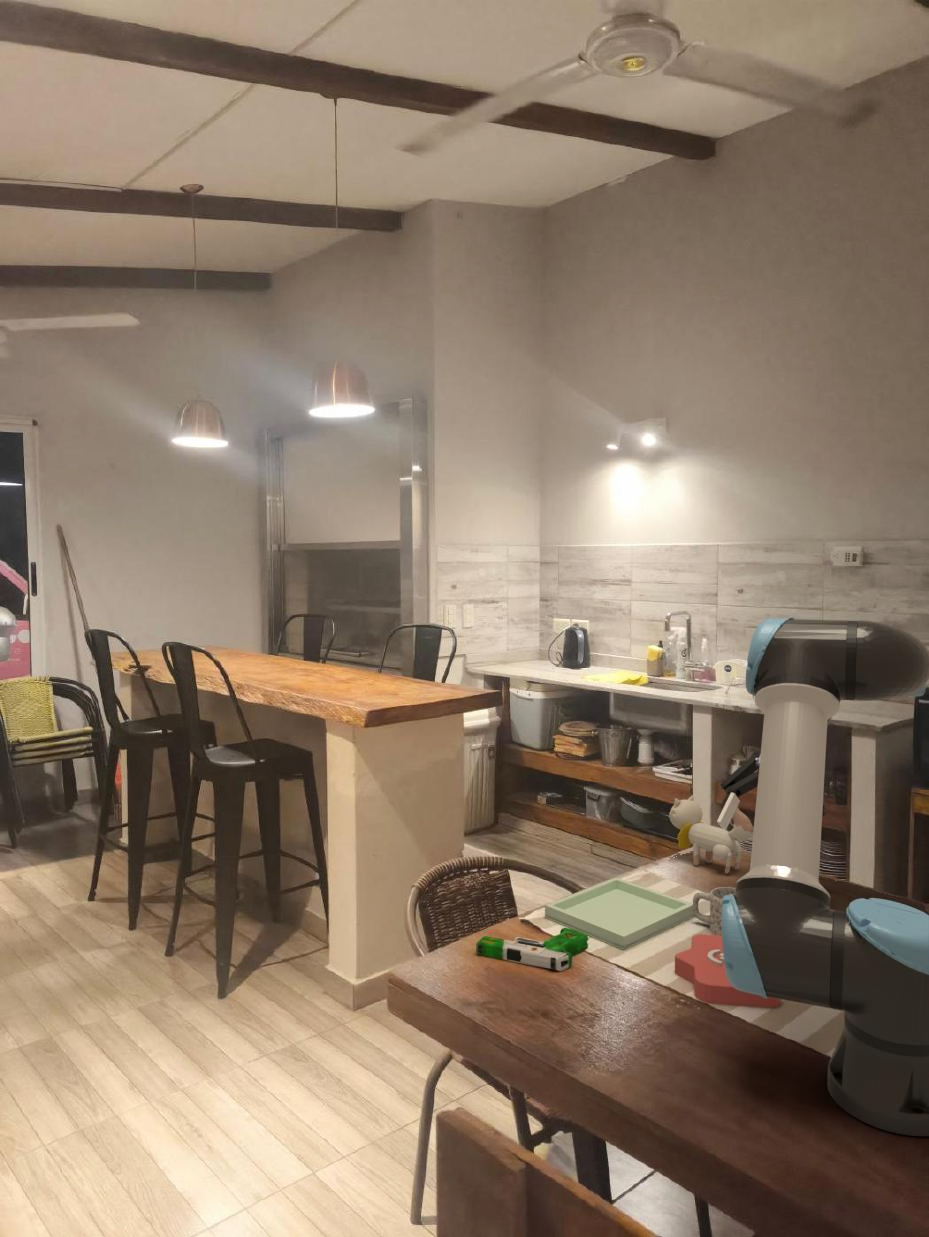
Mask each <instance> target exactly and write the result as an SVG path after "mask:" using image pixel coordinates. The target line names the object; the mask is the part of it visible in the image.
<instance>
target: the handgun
mask: <svg viewBox="0 0 929 1237" xmlns="http://www.w3.org/2000/svg"><path fill="white" fill-rule="evenodd" d="M588 936H589V935H586V934H585V933H583V932H579V931H576V930H574V929H572V928H569V927H563V928H562V929H560V931H559V934H556V935H553V936H552V937H550V938H548V939H545V940H543V941H540V940H536V939H531V938H528V937H527V938H526V937H520V936H516V937H515V939H513V940H510V939H509V940H508V939H502V938H497V937H492V936H486V935H483V936H482V938H480V939H479V940H478V941H477V942H476V944H475V945H476V946H475V951H476V952H475V953H476V954H477V955H478V956H483V957H488V958H493V959H498V960H503V961H508V962H514V963H518V964H524V965H527V966H532V967H536V968H538V967H539V968H545V969H551V970H555V971H558V972H563V971H565V970H568V969H569V968H571V966H572V964H573V956H575V955H577V954H580V953H582V952H583V951H585V950H587V949H588V947H589V943H588V941H589V937H588Z"/></svg>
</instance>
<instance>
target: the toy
mask: <svg viewBox="0 0 929 1237" xmlns="http://www.w3.org/2000/svg"><path fill="white" fill-rule="evenodd" d="M673 803H674V804H673V805H672V807H671V809H670V811H669V814H668V816H669V820H670V823H671V824H672V825H673V826H674V828H676V829H679V830H680V831H679V832H678V834H677V841H678V849H679V850H687V849H689V847H691V846H692V845H693V847H692V848H693V850H692V853H693V854H692V855H693V856H692V863H693V865H694V866H696V867H698V866H699V865H700V856H701V854H700V853H701V850H700V849H702V850H705V858H704V859H705V862H706V863H707V864H711V863H712V862H713V858H715V859H717V860H718V861H725V860H726V862H725V863H726V864H725V868H724V873H725V874H726V875H727V874H729V873H730V870H731V865H732V864H731V863H732V857H735V862H734V870H736V871H737V870H739V868H740V866H741V861H742V860H741V859H742V852H743V850H742V849H741V845H740V843H739V841H740V842H747V841H748V840H750V839H752V838H753V831H754V825H753V824H752V822H751V820H750V819H749V817H748V816H747V815H746V814H745V813H744V812H742V811H741V810H740V809H739V805H738V806H737V808H736V810H735V812H734V815H733V817H732V820H733V827H732V829H731V830H730V831H729V830H727V829H726V830H724V829H722V828H721V827H717V826H715V825H710V824H707V823H704V822H703V821H702V819H703V808H702V807H701V806H700V805H699V804H698V802H696V801H695V800H694V794H691V796H689V798H687V799H678V798H677V797H675V798H674V801H673Z"/></svg>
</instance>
